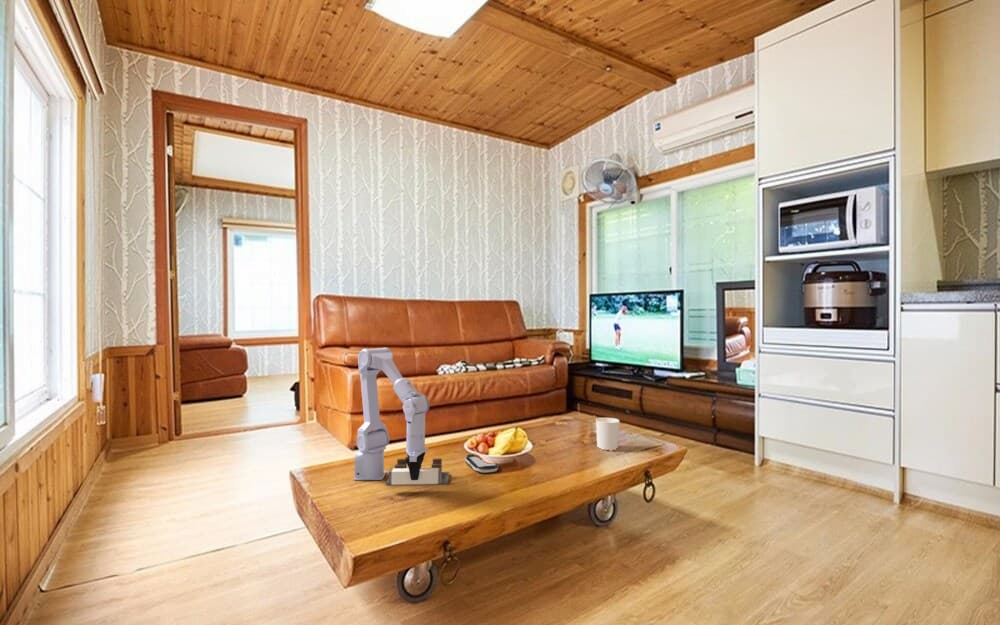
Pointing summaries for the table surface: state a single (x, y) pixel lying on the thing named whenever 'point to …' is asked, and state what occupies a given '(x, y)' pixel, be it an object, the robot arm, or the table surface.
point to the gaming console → (481, 465)
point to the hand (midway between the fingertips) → (415, 477)
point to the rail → (403, 477)
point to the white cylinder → (607, 433)
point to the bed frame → (436, 464)
